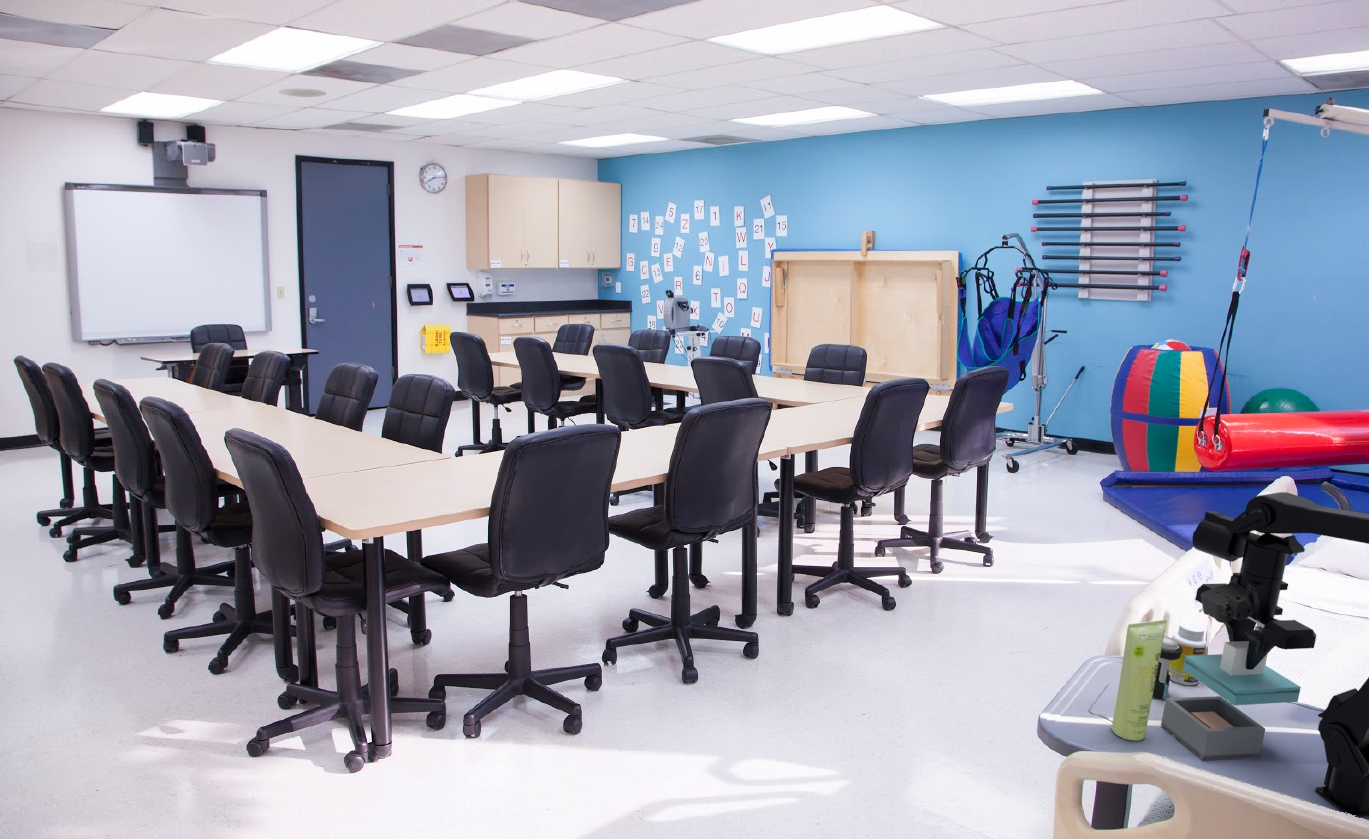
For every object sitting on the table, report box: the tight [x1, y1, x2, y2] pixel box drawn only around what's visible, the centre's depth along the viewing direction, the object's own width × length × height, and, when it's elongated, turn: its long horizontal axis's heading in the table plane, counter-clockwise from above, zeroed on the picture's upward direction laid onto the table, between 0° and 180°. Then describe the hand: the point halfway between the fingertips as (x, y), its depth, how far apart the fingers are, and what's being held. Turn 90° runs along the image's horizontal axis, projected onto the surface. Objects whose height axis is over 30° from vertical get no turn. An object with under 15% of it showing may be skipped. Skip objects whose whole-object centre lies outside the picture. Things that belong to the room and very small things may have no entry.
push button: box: [1152, 635, 1183, 701], centre depth 171 cm, size 7×5×10 cm
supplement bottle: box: [1168, 622, 1208, 686], centre depth 177 cm, size 6×6×10 cm
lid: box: [1183, 641, 1302, 706], centre depth 155 cm, size 11×11×7 cm
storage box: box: [1160, 695, 1266, 762], centre depth 156 cm, size 10×10×5 cm
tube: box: [1111, 618, 1167, 741], centre depth 155 cm, size 6×5×20 cm
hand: (1242, 664), depth 155 cm, fingers closed on lid, 2 cm apart
